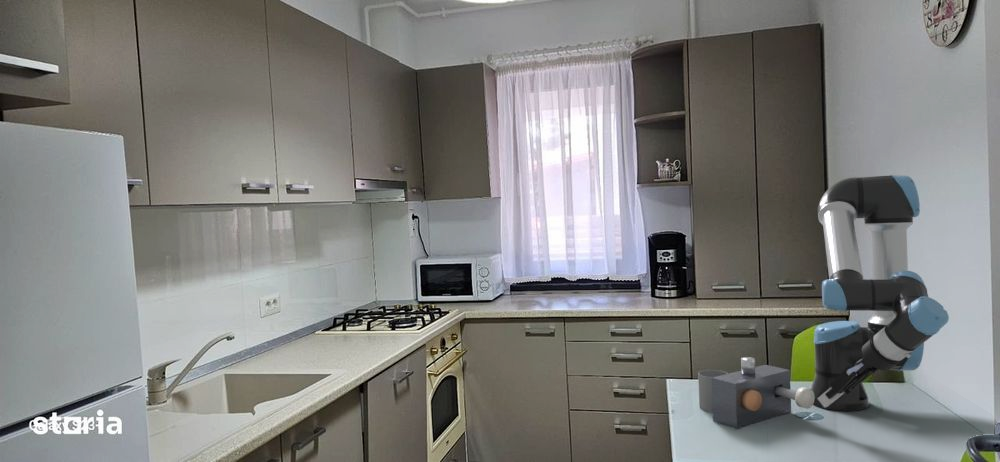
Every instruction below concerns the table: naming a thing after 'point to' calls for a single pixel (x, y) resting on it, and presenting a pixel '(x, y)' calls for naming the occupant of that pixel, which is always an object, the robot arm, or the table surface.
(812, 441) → the table surface
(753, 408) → the knob
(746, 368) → the dial
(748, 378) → the grey puzzle box
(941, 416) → the table surface
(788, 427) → the table surface
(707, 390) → the cup
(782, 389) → the knob
